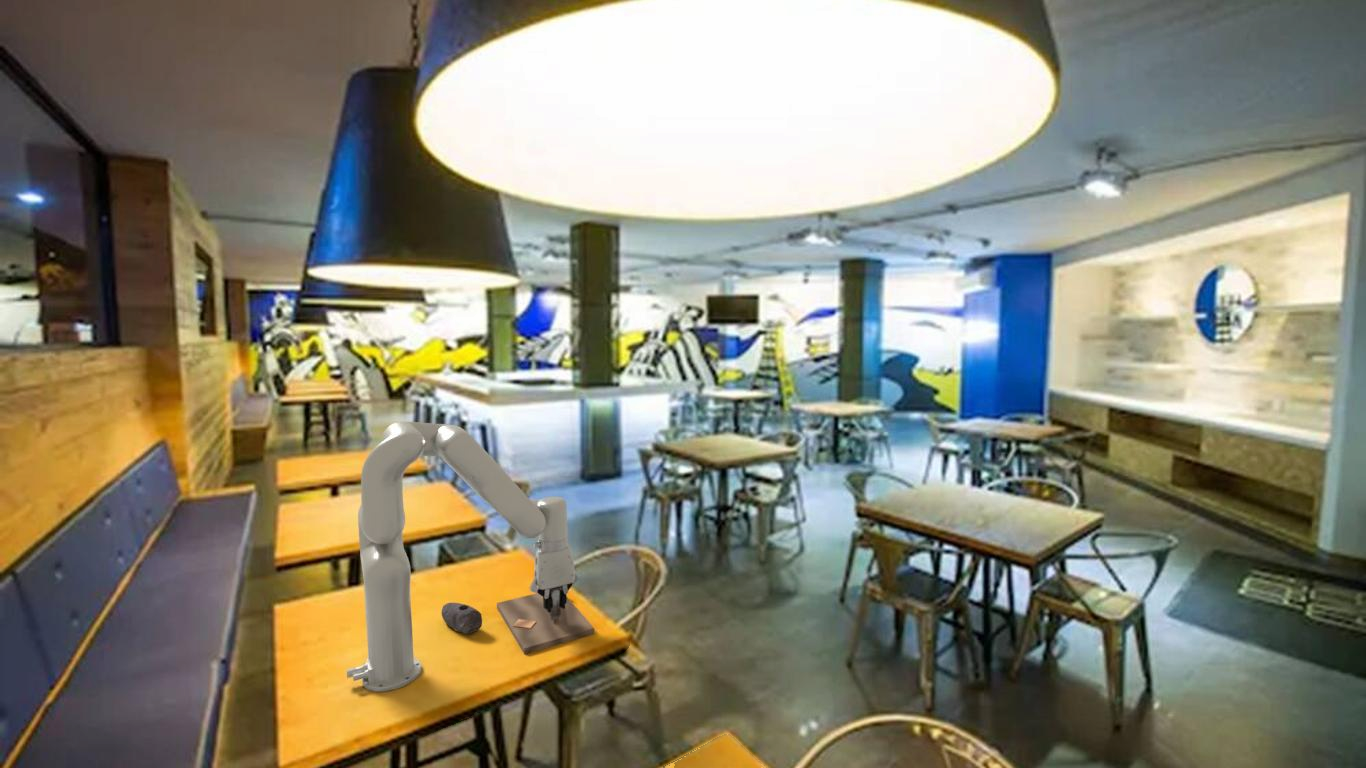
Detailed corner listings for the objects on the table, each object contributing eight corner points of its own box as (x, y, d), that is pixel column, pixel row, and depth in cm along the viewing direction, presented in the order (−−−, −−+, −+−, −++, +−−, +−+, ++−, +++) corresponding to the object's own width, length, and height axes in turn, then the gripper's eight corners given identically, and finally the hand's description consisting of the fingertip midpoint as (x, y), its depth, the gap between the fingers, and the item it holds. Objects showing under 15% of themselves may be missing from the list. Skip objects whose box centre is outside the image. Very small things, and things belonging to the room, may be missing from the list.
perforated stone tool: (435, 623, 165) (434, 600, 164) (452, 616, 169) (451, 593, 169) (467, 641, 156) (466, 616, 156) (484, 632, 161) (483, 608, 160)
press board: (524, 654, 150) (524, 647, 150) (496, 608, 174) (496, 602, 174) (594, 633, 160) (594, 627, 160) (559, 592, 184) (559, 587, 183)
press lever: (547, 625, 160) (546, 585, 158) (543, 589, 180) (542, 553, 179) (564, 623, 161) (563, 583, 160) (558, 588, 182) (557, 552, 180)
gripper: (526, 554, 152) (529, 622, 154) (587, 542, 160) (588, 606, 162) (518, 544, 158) (521, 610, 160) (577, 533, 166) (579, 595, 169)
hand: (555, 607), depth 161 cm, fingers closed on press lever, 3 cm apart
